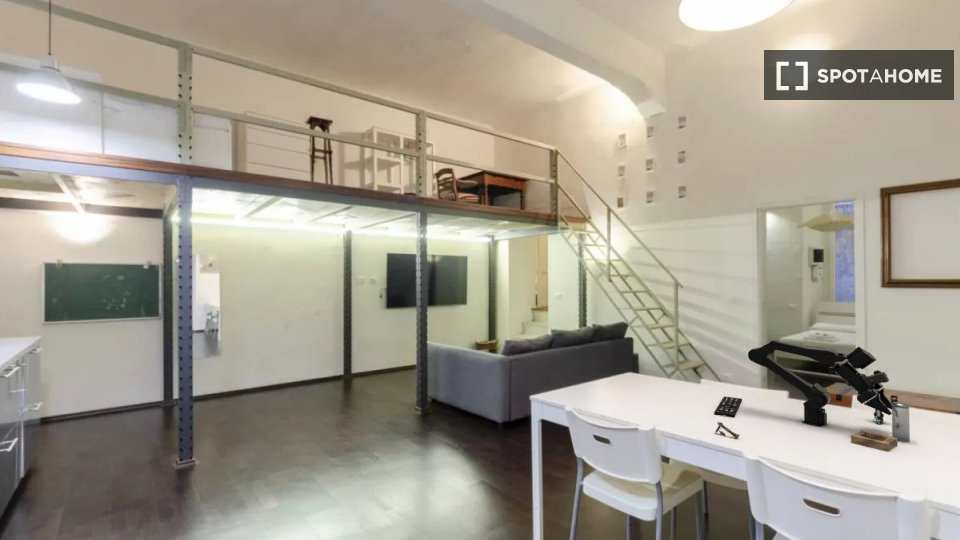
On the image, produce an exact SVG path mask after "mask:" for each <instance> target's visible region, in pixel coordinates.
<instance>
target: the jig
mask: <svg viewBox="0 0 960 540" xmlns="http://www.w3.org/2000/svg"><path fill="white" fill-rule="evenodd" d="M850 443H852V444H856V445H859V446H860V445H861V446H864V447H867V448H873V449H877V450H880V451H885V452H890V451H891V450H893V449H894V448H895V447H897V445H899V444H898V443H899V441H898V438H894V437H892V436H889V435H885V434H880V433H876V432H872V431H867V430H862V429H861V430H859V431H857V432H855V433H853V434H851V435H850Z"/></svg>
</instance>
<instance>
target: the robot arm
mask: <svg viewBox="0 0 960 540" xmlns="http://www.w3.org/2000/svg"><path fill="white" fill-rule="evenodd" d="M775 351H780V352H784V353H787V354H792V355H796V356H797V355H798V356H801V357H804V358H805V357H806V358H808V359H811V360H814V361H815V362H817V363H820V364H823V365H826V366H829V367H827V368H828V375H832V374H833V373H835V374H837V375H838V376H839V377H840V378H841V380H843V381H844V382H845V383H847V386H848V387H849V388H850V387H851V388H852V389H853V390H855V391H856V393H857V396H856V400H857V401H858V402H859V403H860V404H861V405H862V404H863V405H864V406H867V407H870V408H872V409H874V410H875V409H876V410H879V411H881V412H882V414H884V415H885V414H886V415H888V416H892V405H891V402H892V401H890V400H889V398H888V397H887V396H886V394H885V387H884V385H883V384H885V383H886V384H887V383H889V381H890V379H889V377H888V374H887V373H886V372H885V371H881V370H879V369H877V370H874V371H873V374H871V375H868V376H867V374H865V373H861V372H859V371H858V370H859V369H860V370H865V369H866V368H867V367H868V366H870V365H872V364H873V363H875V362H876V361H877V358H876V357H875V356H874V354H872V353H870V352H869V351H867V350H865V349H863V348H862V347H861V346H857V347H856V348H855V349H854V350H852V352H850V353H842V352H838V351H837V350H836V349H833V348H822V347H820V348H819V347H811V346H810V347H809V346H804V345H799V344H796V343H790V342H788V341H787V342H786V341H781V340H779V339H773V340H770V341H769V342H768V343H766V344H764V345H763V346H760V347H754V348H752V349H750V350H749V351H748V352H747V357H748V359H749V360H750V361H751V362H752V363H755V364H757V365H758V366H761V367H764V368H767V369H768V370H770V371H771V372H773V373H774V374H776V376H778V377H780V378H781V379H783V380H784V381H786V382H788V384H790V385H791V386H792V387H795V388H796V389H797V390H799V392H801V393H802V395H803V396H804V397H805V398H806V399H807V400H806V401H804V402H803V403H802V404H803V417H804V420H802V423H804V424H808V425H812V426H813V425H814V426H817V427H823V426H825V425H828V414H827V412H826V408H825V406H827V405H828V404H829V403H830V402H831V400H832V398H831V397H832V396H831V394H830V392H829V391H828V389H827V388H825V387H823V386H822V385H820V384H819V383H817V382H816V383H814V384H811V383H809V382H807V381H806V380H804V379H803V378H802V377H800V376H798V375H797V374H796V373H794V372H792V371H791V370H789V368H787V367H786V366H784V365H782V364H781V363H779V362H777V361H776V360H775V358H773V356H772V355H771V353H773V352H775ZM845 360H847V361H846V362H844V361H845ZM842 362H844V363H843V364H842ZM836 363H837V364H836ZM831 365H834V366H831Z"/></svg>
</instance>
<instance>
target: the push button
mask: <svg viewBox="0 0 960 540" xmlns="http://www.w3.org/2000/svg"><path fill="white" fill-rule="evenodd" d="M884 416H885V413H883V412H881V411H879V410H876V409H874V412H873V419H875V424H877V423H878V425H882V424H884V422H885V419H884Z"/></svg>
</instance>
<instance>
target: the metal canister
mask: <svg viewBox="0 0 960 540" xmlns="http://www.w3.org/2000/svg"><path fill="white" fill-rule="evenodd" d="M890 402H891V405H892V410H891V413H892V414H891V431H892V432H891V433H892V434H891V435H892V436H891V437H894V438H898V442H900V441H901V443H910V442H911V439H910V438H911V433H910V432H911V431H910V428H911V427H910V404H908V403H905V402H898V401H890Z"/></svg>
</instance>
